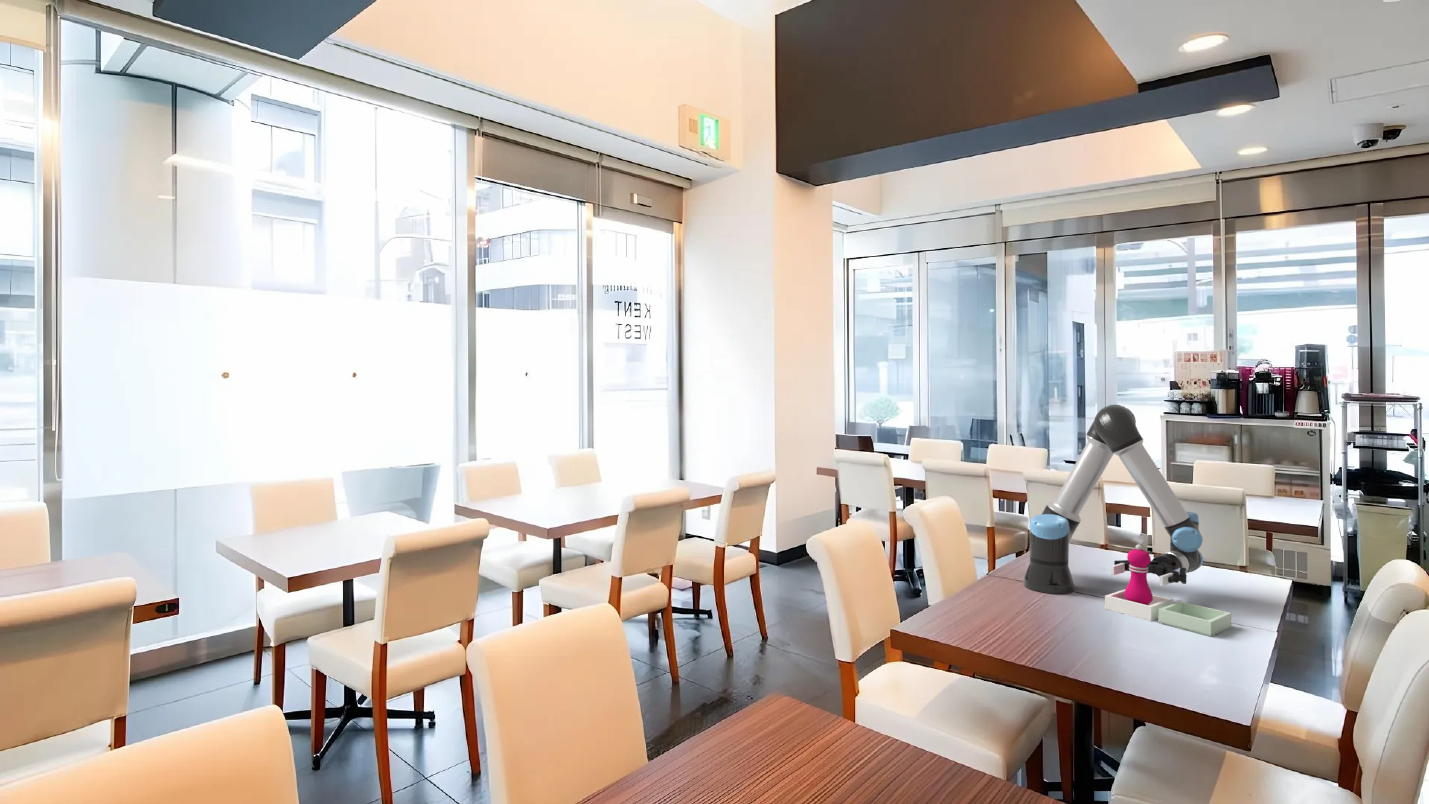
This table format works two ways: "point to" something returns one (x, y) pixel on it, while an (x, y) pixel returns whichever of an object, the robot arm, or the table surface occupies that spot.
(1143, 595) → the pepper mill
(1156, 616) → the bin
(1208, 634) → the tray
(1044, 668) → the table surface
